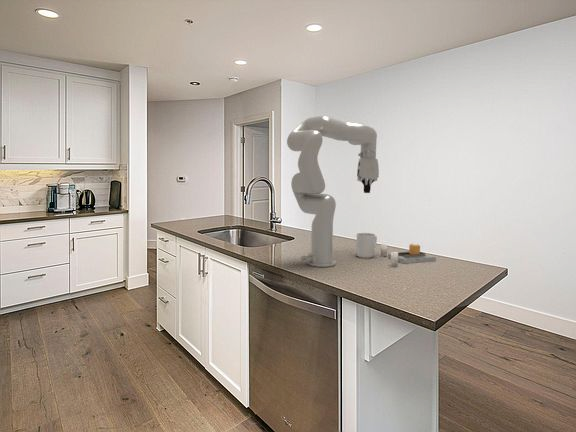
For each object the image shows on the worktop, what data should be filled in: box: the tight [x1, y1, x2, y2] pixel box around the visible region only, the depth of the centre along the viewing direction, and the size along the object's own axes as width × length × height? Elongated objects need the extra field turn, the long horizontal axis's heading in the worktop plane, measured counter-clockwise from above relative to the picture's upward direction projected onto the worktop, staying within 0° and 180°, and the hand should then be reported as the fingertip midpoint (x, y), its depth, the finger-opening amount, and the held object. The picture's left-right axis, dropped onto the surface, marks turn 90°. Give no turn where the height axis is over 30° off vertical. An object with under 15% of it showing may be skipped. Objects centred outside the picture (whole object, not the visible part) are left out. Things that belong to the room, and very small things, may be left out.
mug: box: [355, 232, 378, 259], centre depth 181 cm, size 12×9×11 cm
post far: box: [380, 243, 388, 258], centre depth 182 cm, size 3×3×6 cm
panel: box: [387, 251, 437, 265], centre depth 175 cm, size 18×12×3 cm, turn 108°
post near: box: [390, 251, 399, 268], centre depth 163 cm, size 3×3×6 cm
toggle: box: [408, 242, 421, 255], centre depth 175 cm, size 3×4×5 cm
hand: (366, 192), depth 184 cm, fingers closed
